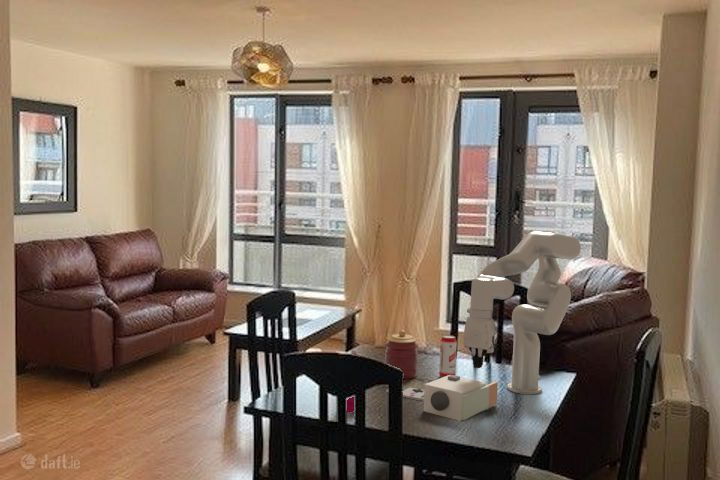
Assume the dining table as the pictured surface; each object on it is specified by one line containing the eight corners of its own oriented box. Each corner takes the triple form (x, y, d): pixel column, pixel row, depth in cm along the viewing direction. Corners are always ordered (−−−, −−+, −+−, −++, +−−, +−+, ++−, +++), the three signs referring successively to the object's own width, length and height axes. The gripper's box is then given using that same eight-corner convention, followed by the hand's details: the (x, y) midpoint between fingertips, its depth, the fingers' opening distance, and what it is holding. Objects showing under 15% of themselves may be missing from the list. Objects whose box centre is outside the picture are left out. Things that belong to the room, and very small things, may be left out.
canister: (412, 380, 265) (414, 335, 264) (380, 376, 269) (381, 331, 268) (420, 372, 277) (422, 328, 276) (389, 369, 282) (390, 325, 280)
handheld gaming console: (409, 386, 254) (448, 393, 247) (409, 390, 254) (448, 397, 247) (398, 393, 245) (438, 400, 238) (397, 397, 245) (437, 405, 238)
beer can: (457, 376, 273) (459, 336, 272) (451, 380, 268) (452, 339, 267) (443, 374, 276) (444, 334, 275) (436, 377, 271) (437, 336, 270)
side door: (494, 403, 238) (495, 381, 237) (496, 403, 237) (497, 382, 237) (461, 419, 220) (462, 395, 219) (463, 419, 219) (464, 396, 219)
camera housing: (448, 400, 242) (449, 372, 241) (484, 409, 233) (486, 379, 233) (420, 412, 228) (422, 382, 227) (458, 422, 219) (459, 390, 219)
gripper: (456, 312, 239) (453, 365, 240) (495, 318, 230) (492, 373, 231) (467, 310, 245) (463, 361, 246) (506, 316, 236) (502, 369, 237)
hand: (477, 367), depth 239 cm, fingers closed
